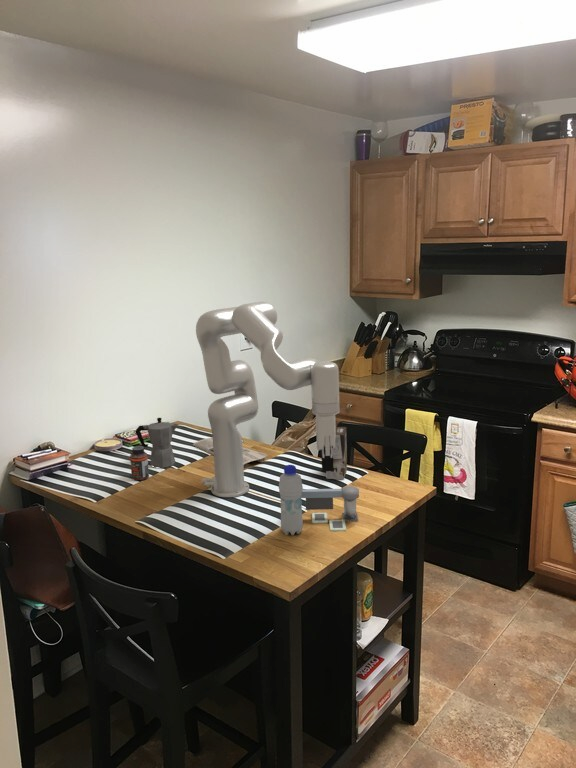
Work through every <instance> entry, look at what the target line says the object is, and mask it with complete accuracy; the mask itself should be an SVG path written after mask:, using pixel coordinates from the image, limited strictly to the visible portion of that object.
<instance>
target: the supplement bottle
mask: <svg viewBox="0 0 576 768" xmlns="http://www.w3.org/2000/svg"><path fill="white" fill-rule="evenodd" d="M131 452H132V453H131V454H130V455H129V461H130V462H129V463H130V473H131V479H132V480H133V479H134V481H136V480H137V481H138V480H141V481H144V480H147V479H148V478H149V477H150V473H149V471H150V470H149V461H148V459H149V458H148V454H147V452H146V451H145V447H143V446H142V445H137V446H134V447H132V449H131Z"/></svg>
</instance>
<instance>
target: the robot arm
mask: <svg viewBox="0 0 576 768" xmlns="http://www.w3.org/2000/svg"><path fill="white" fill-rule="evenodd" d="M277 320H278V313H277V310H276V309H275V307H274V306H273V305H272V304H271V303H269V302H267V301H257V302H250V303H244V304H241V305H239V306H234V307H226V308H225V307H224V308H218V309H213V310H210V311H209V310H208V311H207V312H205V313H203V314H201V315H200V317H199V318H198V319H197V322H196V325H195V334H196V339H197V342H198V344H199V347H200V351H201V354H202V359H203V365H204V371H205V377H206V381H207V387H208V389H209V391H210V392H211V394H215V395H221V394H222V395H223V394H226V393H231V392H234V394H232V395H228V396H225V397H222V398H221V397H220V398H218V399H215V400H214V401H213V402H212V403H211V404H210V405H209V406H208V407H207V408H208V409H207V416H208V417H207V418H208V421H209V426H210V429H211V435H212V438H213V451H214V455H213V462H214V463H213V465H214V476H212V477H210V478H209V477H202V480H201V483H202V484H204V486H205V487H210V486H211V487H210V492H211V493H212V495H214V496H216V497H220V498H235V497H240V496H243V495H245V494H247V493H248V492H249V491H250V485H249V482H247V481H245V472H244V471H245V469H244V468H245V467H244V468H243V447H244V446H243V438H242V437H243V436H242V435H241V433H240V431H239V430H238V428H237V425H240V424H242V423H245V422H249V421H250V420H252V419H254V418H255V417H257V414H258V412H259V401H258V399H259V398H258V394H257V387H256V381H255V377H254V372H253V370H252V368H251V366H250V365H249V364H248V362H246V361H245V360H241V359H235V360H231V354H230V350H229V347H228V345H227V344H226V342H225V341H224V339H222V338H223V337H226V336H228V337H229V336H233V335H239V334H242V335H243V336H244V337H245V338H246V339H247V340H248V341H249V342H250V343H251V344H252V345H253V346H254V347H255V348H256V349H257V350H258V351H259V352H260V361H261V365H262V367H263V370H264V372H265V373H266V375H267V376H268V377H270V378H271V380H272V381H273V382H274V383H275V384H277V386H279V387H281V389H284V390H286V391H294V390H298V389H302V388H303V387H308V386H311V387H310V388H311V390H310V391H311V412H312V414H313V415H315V432H316V433H315V434H316V449H317V450H318V451H321V471H322V472H326V471H333V470H334V468H333V456H332V449H333V450H334V449H335V436H336V427H337V426H336V424H337V423H336V415H338V414H339V413H340V377H339V374H340V373H339V372H340V371H339V365H338V364H337V363H335V362H332V361H323V360H319V359H317V358H314V357H307V358H303V359H297V360H294V361H290V362H289V361H288V362H287V361H286V360H285V359H284V358H283V357H282V356H281V355H280V354H279V353H278V352H277V350H278V349H279V347H280V345H281V344H282V342H283V338H284V334H283V332H282V330H281V329H280V328H279V327H277V326H276V323H277Z"/></svg>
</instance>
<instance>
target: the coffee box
mask: <svg viewBox="0 0 576 768" xmlns="http://www.w3.org/2000/svg"><path fill="white" fill-rule="evenodd" d="M347 433H348V432H347V427H345V426H336V436H335V449H334V450H333V449H332V456H333V468H334V470H333V471H325V473H326V475H325V478H326V479H327V480H328V479H329V480H331V479H332V480H345V477H346V473H347V471H348V468H347V467H348V465H347V463H348V458H347V457H348V454H347V453H348V452H347V451H348V449H347V448H348V447H347V442H348V441H347V440H348V439H347Z"/></svg>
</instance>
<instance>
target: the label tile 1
mask: <svg viewBox="0 0 576 768" xmlns="http://www.w3.org/2000/svg"><path fill="white" fill-rule="evenodd" d="M328 523H329V520H328V513H327V512H311V524H328Z"/></svg>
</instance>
